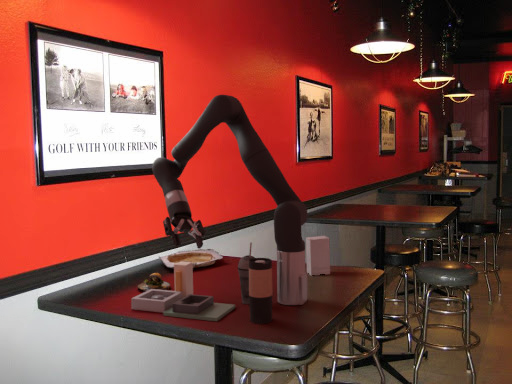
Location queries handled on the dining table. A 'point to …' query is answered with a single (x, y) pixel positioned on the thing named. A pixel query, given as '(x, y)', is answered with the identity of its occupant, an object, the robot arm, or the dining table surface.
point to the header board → (199, 308)
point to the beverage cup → (244, 276)
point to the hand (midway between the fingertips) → (189, 246)
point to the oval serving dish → (192, 258)
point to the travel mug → (260, 290)
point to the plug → (183, 277)
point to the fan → (155, 300)
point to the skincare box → (318, 255)
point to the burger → (154, 283)
